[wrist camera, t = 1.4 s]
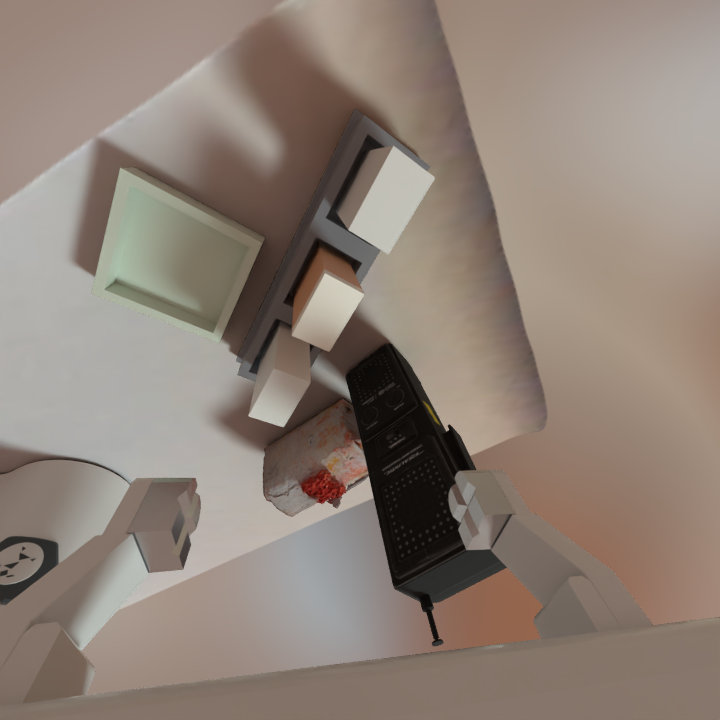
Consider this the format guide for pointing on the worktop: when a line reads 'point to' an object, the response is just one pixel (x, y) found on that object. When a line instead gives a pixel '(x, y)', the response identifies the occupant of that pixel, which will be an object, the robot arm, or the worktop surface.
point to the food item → (315, 461)
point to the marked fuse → (324, 298)
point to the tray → (173, 256)
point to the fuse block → (344, 235)
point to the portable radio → (414, 482)
